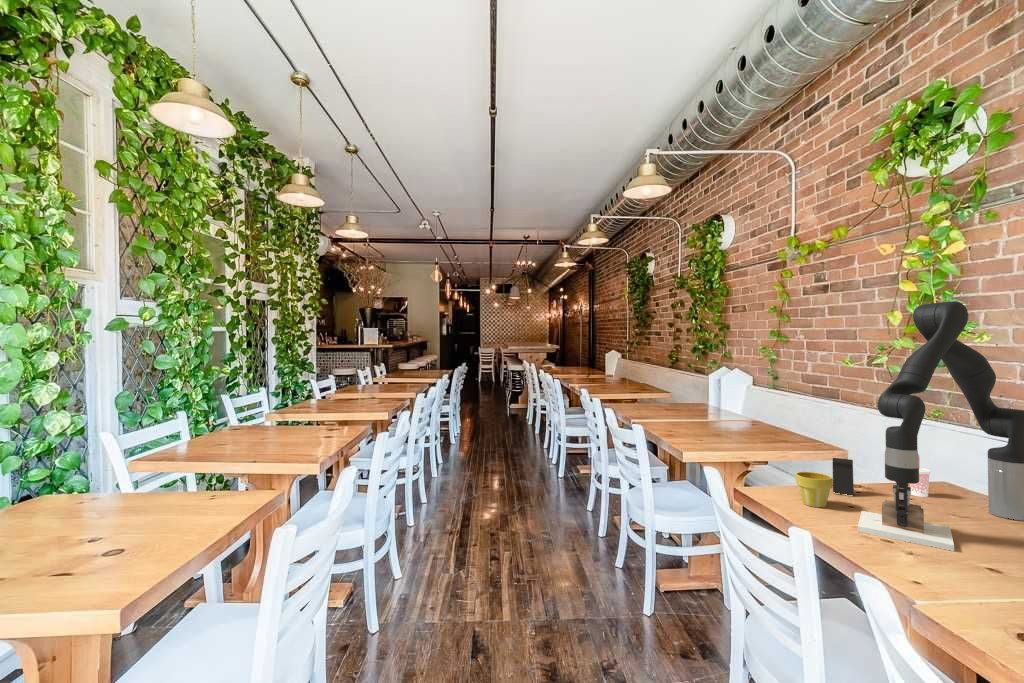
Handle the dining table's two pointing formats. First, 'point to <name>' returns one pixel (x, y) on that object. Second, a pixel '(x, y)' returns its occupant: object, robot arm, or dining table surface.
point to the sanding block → (913, 517)
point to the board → (907, 532)
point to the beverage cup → (921, 483)
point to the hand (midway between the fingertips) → (902, 522)
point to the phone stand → (843, 476)
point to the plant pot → (814, 488)
